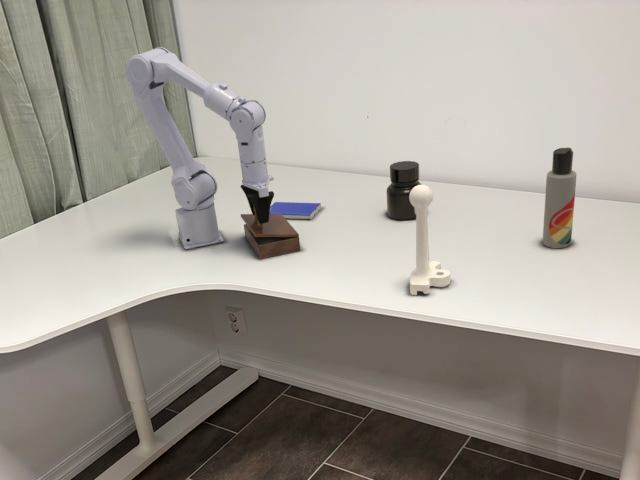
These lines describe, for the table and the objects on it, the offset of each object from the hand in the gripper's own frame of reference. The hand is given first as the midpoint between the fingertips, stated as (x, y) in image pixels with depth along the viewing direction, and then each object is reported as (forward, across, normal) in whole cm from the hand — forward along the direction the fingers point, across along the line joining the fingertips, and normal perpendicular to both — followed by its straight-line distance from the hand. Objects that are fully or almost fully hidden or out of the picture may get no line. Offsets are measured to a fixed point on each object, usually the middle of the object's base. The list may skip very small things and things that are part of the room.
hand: (260, 218), depth 177 cm
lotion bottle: (+6, -32, -56) cm, 65 cm away
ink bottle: (+7, +1, -36) cm, 37 cm away
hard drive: (+7, +17, -12) cm, 22 cm away
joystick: (+7, -37, -25) cm, 45 cm away
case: (+7, 0, -2) cm, 7 cm away
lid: (+2, 0, -2) cm, 3 cm away
